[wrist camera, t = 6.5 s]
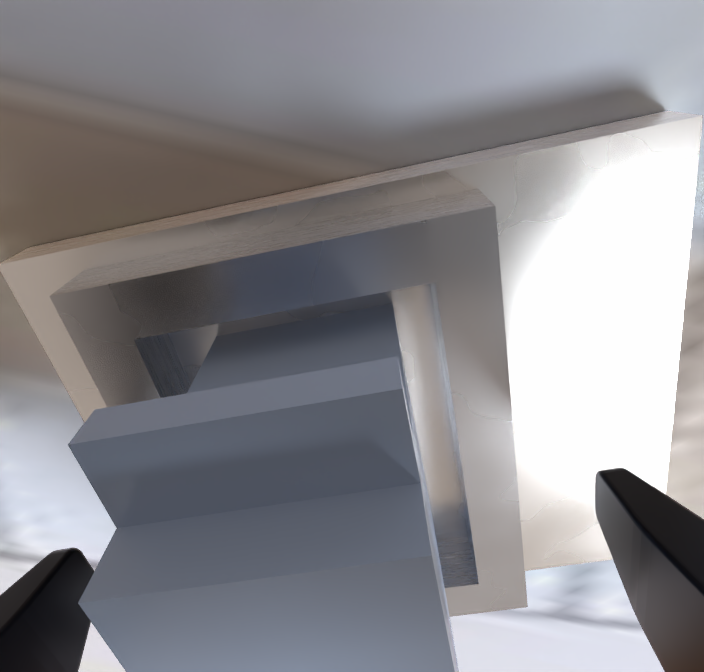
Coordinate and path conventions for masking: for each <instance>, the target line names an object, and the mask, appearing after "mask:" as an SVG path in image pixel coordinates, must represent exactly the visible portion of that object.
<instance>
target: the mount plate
mask: <svg viewBox="0 0 704 672" xmlns="http://www.w3.org/2000/svg"><path fill="white" fill-rule="evenodd" d="M702 120H703V115H696V114H689V113H682V112H674V111H664V112H659V113H655V114H650V115H645V116H641V117H636V118H631V119H627V120H622V121H617V122H613V123H608V124H603V125H599V126H594V127H589V128H584V129H580V130H575V131H570V132H566V133H561V134H556V135H552V136H547V137H542V138H538V139H533V140H528V141H524V142H519V143H514V144H510V145H505V146H500V147H496V148H491V149H486V150H482V151H477V152H472V153H468V154H463V155H458V156H454V157H449V158H444V159H440V160H435V161H430V162H426V163H421V164H416V165H412V166H407V167H402V168H398V169H393V170H388V171H384V172H379V173H374V174H370V175H365V176H360V177H356V178H351V179H346V180H342V181H337V182H332V183H328V184H323V185H318V186H314V187H309V188H304V189H299V190H295V191H290V192H285V193H281V194H276V195H271V196H267V197H262V198H257V199H253V200H248V201H243V202H239V203H234V204H229V205H225V206H220V207H215V208H211V209H206V210H201V211H197V212H192V213H187V214H183V215H178V216H173V217H169V218H164V219H159V220H155V221H150V222H145V223H141V224H136V225H131V226H127V227H122V228H117V229H113V230H108V231H103V232H99V233H94V234H89V235H85V236H80V237H75V238H71V239H66V240H61V241H57V242H52V243H47V244H43V245H38V246H33V247H29V248H27V249H25V250H23V251H21V252H19V253H18V254H16V255H14V256H12V257H10V258H9V259H7V260H5V261H3V262H1V263H0V272H1V273H2V275H3V277H4V279H5V280H6V282H7V284H8V286H9V288H10V289H11V291H12V293H13V295H14V297H15V298H16V300H17V302H18V304H19V306H20V307H21V309H22V311H23V313H24V315H25V316H26V318H27V320H28V322H29V324H30V325H31V327H32V329H33V331H34V333H35V334H36V336H37V338H38V340H39V342H40V343H41V345H42V347H43V349H44V351H45V352H46V354H47V356H48V358H49V360H50V361H51V363H52V365H53V367H54V368H55V370H56V372H57V374H58V376H59V377H60V379H61V381H62V383H63V385H64V386H65V388H66V390H67V392H68V394H69V395H70V397H71V399H72V401H73V403H74V404H75V406H76V408H77V410H78V412H79V413H80V415H81V417H82V419H83V421H84V422H86V420H87V419H88V418H89V417H90V415H91V414H92V413H93V411H94V410H95V409H101V408H107V407H112V406H118V405H124V404H129V403H135V402H141V401H147V400H152V399H158V398H164V397H170V396H175V395H181V394H187V392H188V390H189V388H190V386H191V384H192V382H193V380H194V379H195V377H196V375H197V373H198V371H199V369H200V367H201V365H202V363H203V361H204V359H205V357H206V355H207V353H208V352H209V350H210V348H211V346H212V344H213V342H214V340H215V338H216V336H220V335H225V334H230V333H236V332H241V331H247V330H252V329H257V328H263V327H268V326H274V325H279V324H284V323H290V322H295V321H301V320H306V319H311V318H317V317H322V316H328V315H333V314H338V313H344V312H349V311H355V310H360V309H365V308H371V307H376V306H382V305H387V304H392V303H393V307H394V313H395V318H396V323H397V329H398V334H399V340H400V345H401V350H402V356H403V361H404V366H405V372H406V377H407V383H408V388H409V393H410V399H411V404H412V409H413V415H414V420H415V426H416V431H417V436H418V442H419V447H420V452H421V458H422V463H423V469H424V474H425V479H426V485H427V490H428V495H429V501H430V506H431V512H432V517H433V523H434V529H435V534H436V540H437V546H438V552H439V558H440V564H441V570H442V576H443V582H444V587H445V593H446V599H447V605H448V611H449V617H451V616H459V615H467V614H475V613H483V612H491V611H499V610H507V609H515V608H523V607H527V594H526V582H525V571H528V570H536V569H543V568H551V567H558V566H566V565H574V564H581V563H589V562H597V561H604V560H612V559H613V558H612V555H611V553H610V550H609V548H608V545H607V543H606V540H605V538H604V535H603V533H602V530H601V528H600V525H599V522H598V520H597V516H596V512H595V476H596V473H597V472H598V471H600V470H604V469H611V468H618V467H622V468H625V469H627V470H629V471H631V472H632V473H634V474H635V475H637V476H638V477H640V478H641V479H643V480H644V481H646V482H647V483H649V484H650V485H652V486H653V487H655V488H657V489H658V490H660V491H661V492H663V493H664V494H666V486H667V476H668V466H669V456H670V445H671V435H672V425H673V415H674V405H675V394H676V384H677V374H678V364H679V354H680V344H681V333H682V323H683V313H684V303H685V293H686V282H687V272H688V262H689V252H690V242H691V232H692V221H693V211H694V201H695V191H696V181H697V170H698V160H699V150H700V140H701V130H702Z"/></svg>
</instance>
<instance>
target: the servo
mask: <svg viewBox="0 0 704 672" xmlns="http://www.w3.org/2000/svg"><path fill="white" fill-rule="evenodd" d="M68 446H69V447H70V449H71V451H72V453H73V454H74V456H75V458H76V459H77V461H78V463H79V464H80V466H81V468H82V470H83V471H84V473H85V475H86V476H87V478H88V480H89V481H90V483H91V485H92V487H93V488H94V490H95V492H96V493H97V495H98V497H99V499H100V500H101V502H102V504H103V505H104V507H105V509H106V510H107V512H108V514H109V516H110V517H111V519H112V521H113V522H114V524H115V526H116V527H117V529H116V531H115V533H114V535H113V537H112V539H111V541H110V542H109V544H108V546H107V548H106V550H105V552H104V554H103V556H102V558H101V560H100V562H99V564H98V566H97V568H96V569H95V571H94V573H93V575H92V577H91V579H90V581H89V583H88V585H87V587H86V589H85V591H84V593H83V595H82V596H81V598H80V600H79V602H78V604H79V605H80V607H81V608H82V609H83V611H84V612H85V614H86V615H87V616H88V618H89V619H90V621H91V622H92V624H93V625H94V626H95V628H96V629H97V631H98V632H99V634H100V635H101V636H102V638H103V639H104V641H105V642H106V644H107V645H108V646H109V648H110V649H111V651H112V652H113V653H114V655H115V656H116V658H117V659H118V661H119V662H120V663H121V665H122V666H123V668H124V669H125V671H126V672H459V670H458V664H457V658H456V652H455V646H454V640H453V634H452V629H451V623H450V617H449V611H448V605H447V599H446V593H445V587H444V582H443V576H442V570H441V564H440V558H439V552H438V546H437V540H436V534H435V529H434V523H433V517H432V512H431V506H430V501H429V495H428V490H427V485H426V479H425V474H424V469H423V463H422V458H421V452H420V447H419V442H418V436H417V431H416V426H415V420H414V415H413V409H412V404H411V399H410V393H409V388H408V383H407V377H406V372H405V366H404V361H403V356H402V350H401V345H400V340H399V334H398V329H397V323H396V318H395V313H394V307H393V303H392V304H387V305H382V306H376V307H371V308H365V309H360V310H355V311H349V312H344V313H338V314H333V315H328V316H322V317H317V318H311V319H306V320H301V321H295V322H290V323H284V324H279V325H274V326H268V327H263V328H257V329H252V330H247V331H241V332H236V333H230V334H225V335H220V336H216V338H215V340H214V342H213V344H212V346H211V348H210V350H209V352H208V353H207V355H206V357H205V359H204V361H203V363H202V365H201V367H200V369H199V371H198V373H197V375H196V377H195V379H194V380H193V382H192V384H191V386H190V388H189V390H188V392H187V394H181V395H175V396H170V397H164V398H158V399H152V400H147V401H141V402H135V403H129V404H124V405H118V406H112V407H107V408H101V409H95V410H94V411H93V413H92V414H91V415H90V417H89V418H88V419H87V420H86V422H85V423H84V424H83V426H82V427H81V428H80V430H79V431H78V432H77V434H76V435H75V436H74V438H73V439H72V440H71V441H70V443H69V444H68Z"/></svg>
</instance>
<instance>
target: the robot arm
mask: <svg viewBox="0 0 704 672" xmlns="http://www.w3.org/2000/svg"><path fill="white" fill-rule="evenodd" d="M595 512H596V516H597V520H598V522H599V525H600V528H601V530H602V533H603V535H604V538H605V540H606V543H607V545H608V548H609V550H610V553H611V555H612V558H613V560H614V563H615V565H616V568H617V570H618V573H619V575H620V578H621V580H622V583H623V585H624V588H625V590H626V593H627V595H628V598H629V600H630V603H631V605H632V607H633V610H634V612H635V615H636V617H637V619H638V621H639V623H640V625H641V627H642V629H643V631H644V633H645V635H646V637H647V639H648V640H649V642H650V644H651V646H652V648H653V650H654V652H655V654H656V656H657V658H658V660H659V661H660V663H661V665H662V667H663V669H664V671H665V672H704V519H702V518H701V517H699V516H698V515H696V514H695V513H693V512H692V511H690V510H689V509H687V508H686V507H684V506H682V505H681V504H679V503H678V502H676V501H675V500H673V499H672V498H670V497H669V496H667V495H666V494H664V493H663V492H661V491H660V490H658V489H657V488H655V487H653V486H652V485H650V484H649V483H647V482H646V481H644V480H643V479H641V478H640V477H638V476H637V475H635V474H634V473H632V472H631V471H629V470H627V469H625V468H622V467H618V468H611V469H604V470H600V471H598V472H597V473H596V476H595ZM93 573H94V570H93V568H92V567H91V565H90V564H89V562H88V561H87V559H86V558H85V556H84V555H83V553H82V552H81V551H80V550H79V549H77V548H68V549H61V550H56V551H53V552H51V553H50V554H49V555H47V556H46V557H45V558H44V559H43V560H41V561H40V562H39V563H38V564H37V565H36V566H34V567H33V568H32V569H31V570H30V571H28V572H27V573H26V574H25V575H24V576H23V577H21V578H20V579H19V580H18V581H17V582H15V583H14V584H13V585H12V586H11V587H10V588H8V589H7V590H6V591H5V592H4V593H3V594H1V595H0V672H78V669H79V666H80V662H81V658H82V654H83V650H84V646H85V642H86V639H87V635H88V631H89V627H90V623H91V621H90V619H89V618H88V616H87V615H86V614H85V612H84V611H83V609H82V608H81V607H80V605H79V604H78V602H79V600H80V598H81V596H82V595H83V593H84V591H85V589H86V587H87V585H88V583H89V581H90V579H91V577H92V575H93Z"/></svg>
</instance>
